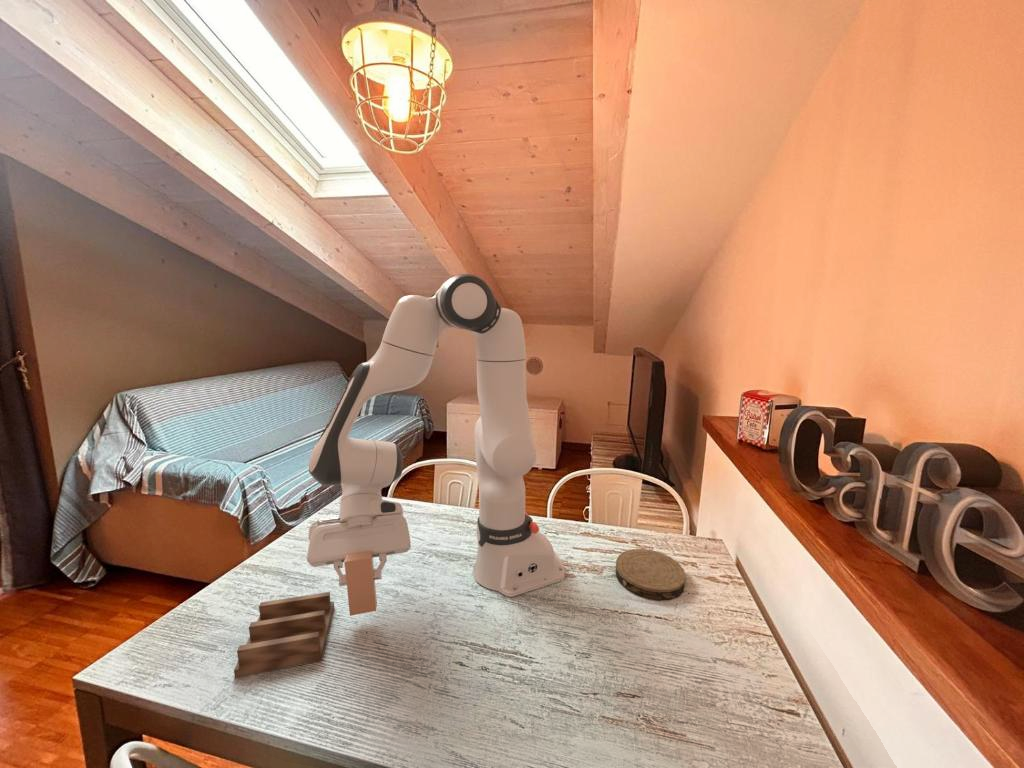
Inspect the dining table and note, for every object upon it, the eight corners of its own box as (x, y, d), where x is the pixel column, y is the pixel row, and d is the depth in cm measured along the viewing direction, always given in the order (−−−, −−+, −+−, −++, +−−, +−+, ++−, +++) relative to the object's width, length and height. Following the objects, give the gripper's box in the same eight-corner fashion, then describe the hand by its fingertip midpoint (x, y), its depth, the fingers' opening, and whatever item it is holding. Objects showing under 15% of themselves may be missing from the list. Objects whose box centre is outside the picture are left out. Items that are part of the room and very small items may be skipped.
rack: (334, 607, 88) (332, 588, 87) (321, 660, 74) (319, 639, 73) (261, 619, 84) (259, 600, 83) (234, 677, 71) (231, 655, 70)
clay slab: (376, 602, 85) (372, 550, 83) (376, 610, 82) (371, 557, 80) (351, 607, 84) (346, 554, 81) (350, 615, 81) (344, 561, 79)
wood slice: (644, 552, 109) (645, 542, 108) (699, 586, 96) (700, 574, 95) (601, 572, 100) (602, 561, 100) (654, 612, 87) (655, 599, 87)
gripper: (306, 516, 84) (299, 589, 76) (408, 502, 89) (411, 570, 81) (313, 525, 89) (307, 594, 81) (409, 511, 94) (412, 576, 86)
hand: (360, 582), depth 81 cm, fingers closed on clay slab, 5 cm apart
